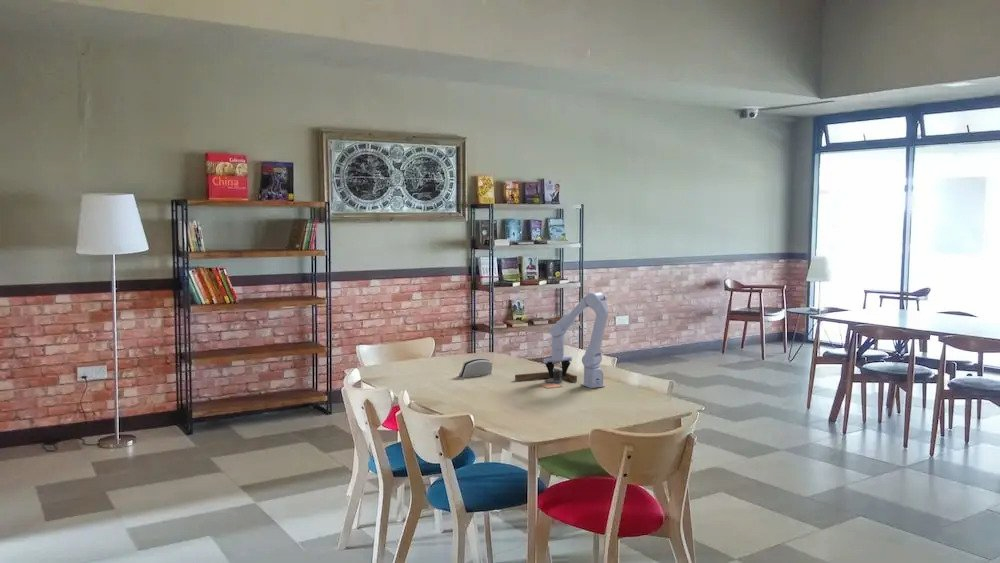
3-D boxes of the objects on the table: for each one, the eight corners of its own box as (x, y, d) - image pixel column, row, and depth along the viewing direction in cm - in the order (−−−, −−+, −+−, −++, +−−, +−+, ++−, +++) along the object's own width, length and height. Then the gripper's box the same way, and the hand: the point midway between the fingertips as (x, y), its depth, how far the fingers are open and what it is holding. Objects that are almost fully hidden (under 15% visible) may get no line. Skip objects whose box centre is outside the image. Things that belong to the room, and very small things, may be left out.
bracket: (561, 382, 394) (561, 370, 393) (550, 383, 391) (550, 371, 391) (555, 380, 399) (555, 368, 399) (544, 381, 397) (544, 369, 396)
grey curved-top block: (486, 372, 419) (490, 355, 415) (491, 377, 415) (494, 359, 412) (458, 375, 410) (461, 358, 406) (462, 380, 406) (466, 362, 402)
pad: (562, 386, 384) (562, 386, 384) (547, 388, 380) (547, 387, 380) (554, 383, 391) (554, 383, 391) (539, 385, 388) (539, 384, 388)
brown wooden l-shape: (576, 382, 395) (576, 375, 395) (528, 386, 384) (528, 380, 384) (561, 376, 408) (561, 370, 408) (515, 380, 398) (515, 374, 397)
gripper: (566, 346, 402) (566, 374, 403) (540, 348, 396) (540, 376, 397) (574, 348, 395) (573, 376, 396) (547, 350, 389) (547, 379, 390)
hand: (557, 376), depth 396 cm, fingers open, 6 cm apart
